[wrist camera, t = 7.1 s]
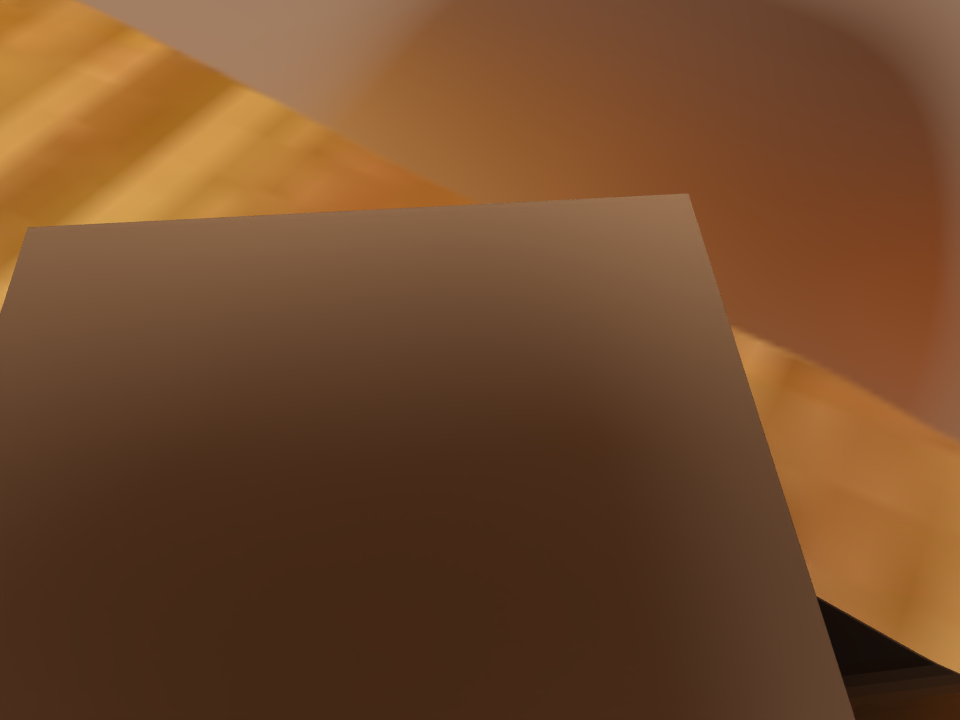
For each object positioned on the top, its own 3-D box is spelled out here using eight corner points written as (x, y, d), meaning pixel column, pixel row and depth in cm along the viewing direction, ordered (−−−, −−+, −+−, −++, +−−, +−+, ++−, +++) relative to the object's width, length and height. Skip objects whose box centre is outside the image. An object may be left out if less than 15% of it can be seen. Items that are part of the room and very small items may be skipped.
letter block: (535, 623, 14) (1000, 1172, 2) (369, 642, 14) (-362, 1442, 2) (514, 450, 16) (679, 164, 4) (369, 462, 16) (39, 195, 3)
